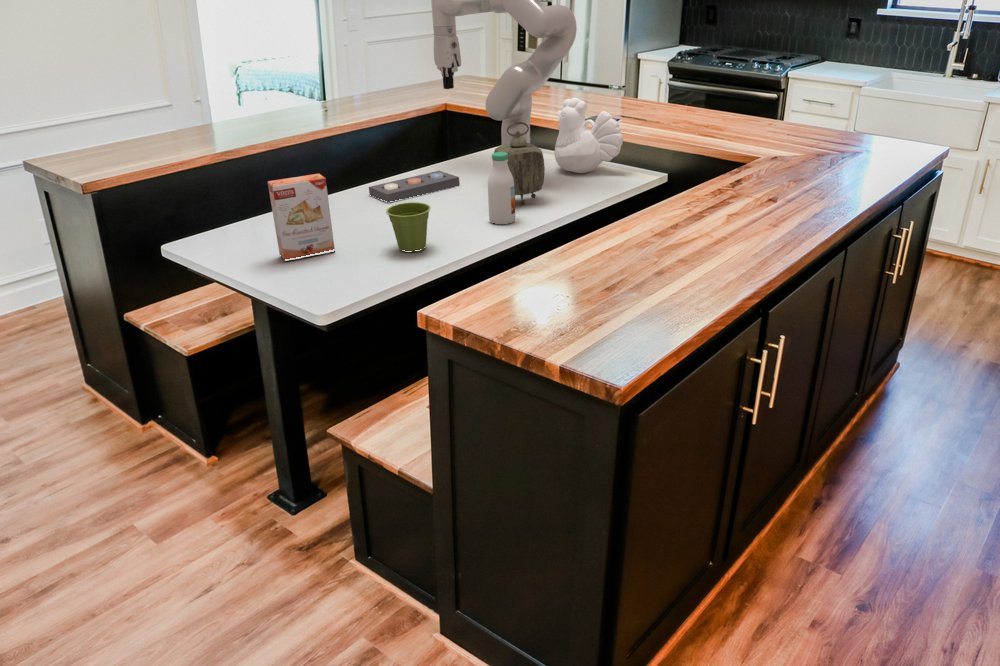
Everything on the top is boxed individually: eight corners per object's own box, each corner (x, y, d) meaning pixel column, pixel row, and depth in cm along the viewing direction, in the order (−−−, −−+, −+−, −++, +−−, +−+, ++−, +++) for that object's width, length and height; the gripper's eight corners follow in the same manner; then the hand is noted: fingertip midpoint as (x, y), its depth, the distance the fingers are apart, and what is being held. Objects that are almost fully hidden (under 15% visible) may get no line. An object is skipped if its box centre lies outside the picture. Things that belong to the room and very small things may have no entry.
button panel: (459, 185, 267) (459, 177, 266) (388, 203, 252) (387, 194, 251) (439, 179, 276) (439, 170, 274) (369, 195, 261) (368, 186, 259)
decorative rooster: (545, 171, 279) (544, 99, 268) (575, 162, 289) (575, 92, 278) (599, 183, 263) (600, 107, 252) (629, 173, 272) (631, 100, 261)
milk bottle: (506, 226, 227) (504, 157, 218) (484, 223, 231) (480, 155, 222) (520, 219, 233) (518, 151, 224) (498, 215, 236) (495, 149, 227)
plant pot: (395, 241, 219) (391, 202, 214) (437, 241, 218) (434, 201, 213) (385, 256, 209) (381, 215, 204) (429, 256, 208) (426, 215, 203)
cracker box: (285, 263, 208) (271, 185, 198) (279, 256, 212) (266, 180, 203) (336, 253, 213) (325, 177, 204) (330, 246, 218) (319, 172, 209)
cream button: (401, 194, 258) (400, 185, 257) (389, 196, 256) (388, 187, 255) (394, 191, 262) (393, 182, 260) (382, 194, 259) (381, 185, 258)
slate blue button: (446, 183, 268) (445, 174, 267) (435, 185, 266) (434, 177, 264) (439, 180, 271) (438, 172, 270) (428, 183, 269) (427, 174, 268)
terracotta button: (424, 188, 263) (423, 179, 262) (413, 191, 261) (412, 182, 260) (417, 185, 266) (416, 177, 265) (405, 188, 264) (405, 179, 263)
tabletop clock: (537, 196, 253) (535, 117, 241) (547, 204, 245) (546, 122, 234) (494, 202, 249) (490, 121, 238) (502, 210, 241) (499, 127, 230)
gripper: (467, 31, 259) (470, 89, 267) (441, 29, 270) (445, 84, 278) (448, 34, 255) (452, 92, 263) (423, 31, 266) (427, 87, 274)
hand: (448, 88), depth 271 cm, fingers closed
